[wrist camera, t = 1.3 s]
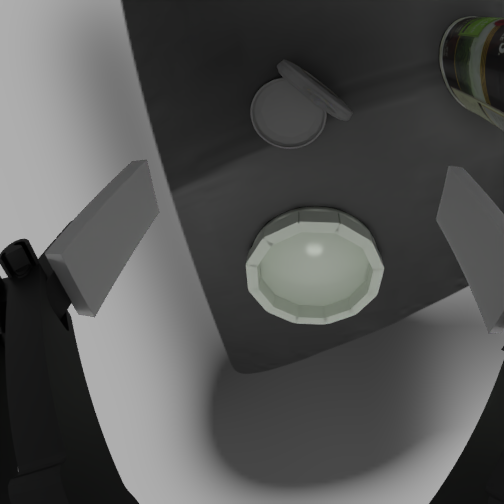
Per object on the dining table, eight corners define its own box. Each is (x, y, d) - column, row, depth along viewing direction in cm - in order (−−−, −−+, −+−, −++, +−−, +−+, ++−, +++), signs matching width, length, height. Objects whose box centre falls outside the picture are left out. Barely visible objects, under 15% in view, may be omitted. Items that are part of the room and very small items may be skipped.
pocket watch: (251, 142, 29) (230, 190, 21) (252, 55, 23) (229, 62, 16) (338, 151, 28) (353, 202, 20) (348, 64, 23) (374, 76, 15)
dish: (246, 204, 33) (241, 220, 30) (387, 209, 31) (394, 225, 28) (254, 303, 42) (251, 321, 39) (365, 307, 40) (368, 325, 37)
